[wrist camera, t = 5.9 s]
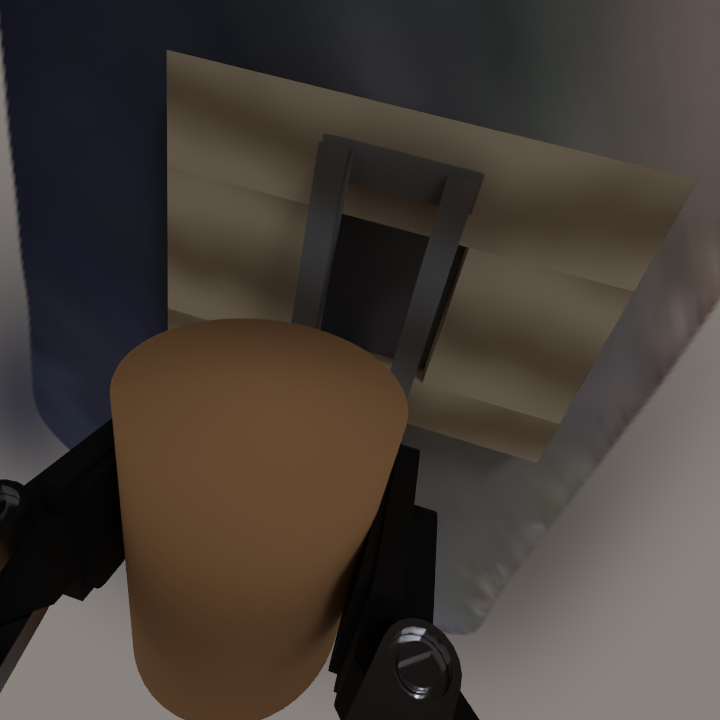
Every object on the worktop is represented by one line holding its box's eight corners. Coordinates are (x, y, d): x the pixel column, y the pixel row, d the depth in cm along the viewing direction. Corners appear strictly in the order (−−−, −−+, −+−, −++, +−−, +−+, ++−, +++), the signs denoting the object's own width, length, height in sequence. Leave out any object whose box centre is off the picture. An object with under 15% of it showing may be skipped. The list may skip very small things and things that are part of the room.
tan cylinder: (212, 300, 10) (19, 417, 5) (417, 357, 9) (389, 534, 5) (203, 504, 13) (78, 681, 9) (354, 552, 13) (304, 763, 8)
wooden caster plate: (191, 59, 21) (109, 28, 16) (674, 177, 19) (753, 184, 14) (185, 338, 28) (129, 377, 23) (531, 442, 26) (549, 508, 22)
